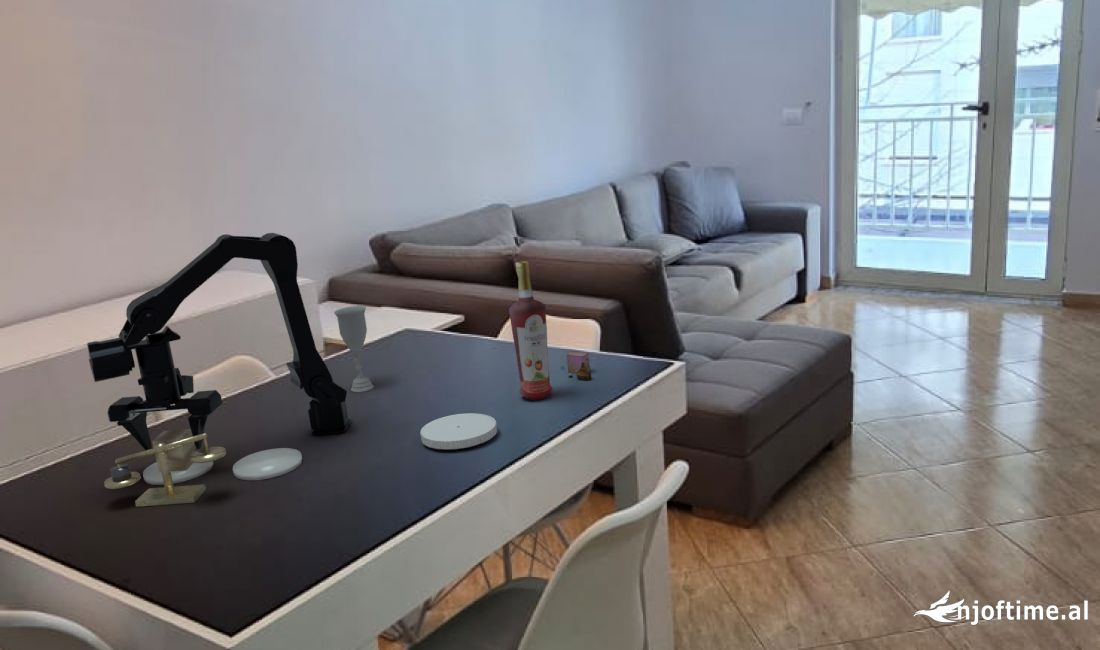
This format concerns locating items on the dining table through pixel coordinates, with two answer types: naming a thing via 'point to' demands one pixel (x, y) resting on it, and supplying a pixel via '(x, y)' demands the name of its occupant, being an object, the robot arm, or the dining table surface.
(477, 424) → the plastic lid
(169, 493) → the balance
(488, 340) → the dining table surface
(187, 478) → the pale round disc
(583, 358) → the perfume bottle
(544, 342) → the liquor
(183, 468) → the block
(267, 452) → the shallow white plate
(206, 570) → the dining table surface
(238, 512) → the dining table surface
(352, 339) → the chalice
